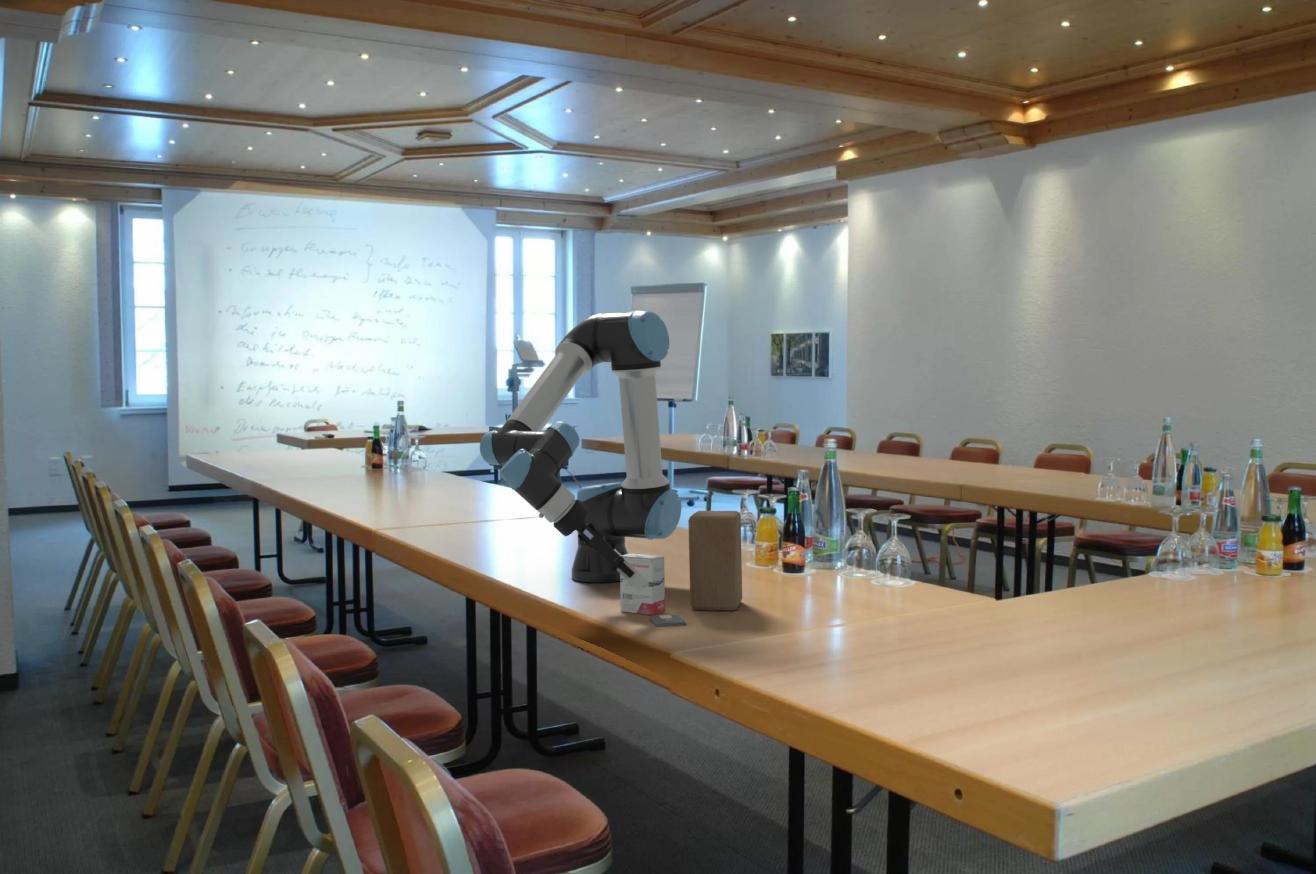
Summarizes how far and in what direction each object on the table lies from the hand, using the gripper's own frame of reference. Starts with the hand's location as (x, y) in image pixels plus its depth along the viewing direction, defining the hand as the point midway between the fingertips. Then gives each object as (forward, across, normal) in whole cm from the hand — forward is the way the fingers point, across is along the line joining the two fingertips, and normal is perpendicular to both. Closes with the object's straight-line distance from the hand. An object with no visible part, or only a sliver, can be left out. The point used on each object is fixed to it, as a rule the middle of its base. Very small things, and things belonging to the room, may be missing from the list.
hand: (637, 579), depth 222 cm
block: (+17, -1, +7) cm, 19 cm away
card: (+8, +10, -2) cm, 13 cm away
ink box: (+6, -1, -4) cm, 7 cm away
